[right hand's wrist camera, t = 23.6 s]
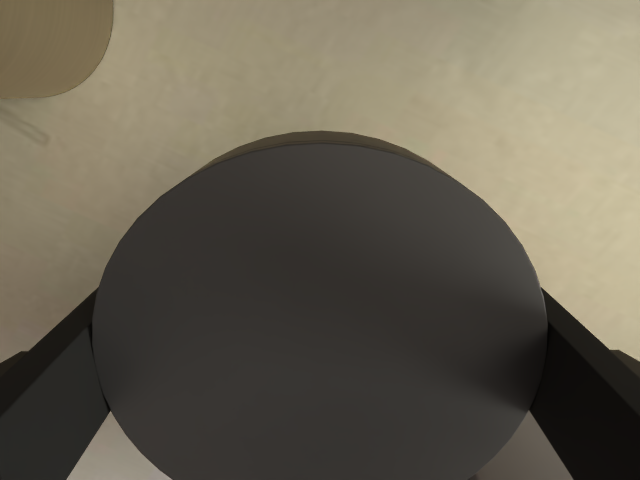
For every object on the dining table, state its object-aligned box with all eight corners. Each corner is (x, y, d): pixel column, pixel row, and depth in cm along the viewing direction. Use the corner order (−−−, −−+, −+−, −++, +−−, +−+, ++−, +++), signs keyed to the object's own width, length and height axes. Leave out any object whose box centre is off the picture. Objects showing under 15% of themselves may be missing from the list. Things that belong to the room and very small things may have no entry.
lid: (160, 74, 10) (114, 72, 8) (575, 196, 11) (639, 224, 9) (115, 419, 14) (75, 484, 12) (426, 483, 15) (445, 554, 13)
